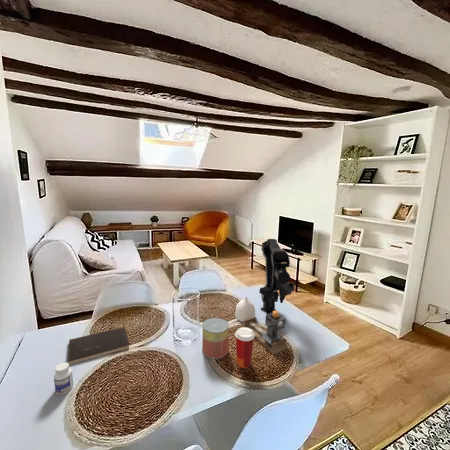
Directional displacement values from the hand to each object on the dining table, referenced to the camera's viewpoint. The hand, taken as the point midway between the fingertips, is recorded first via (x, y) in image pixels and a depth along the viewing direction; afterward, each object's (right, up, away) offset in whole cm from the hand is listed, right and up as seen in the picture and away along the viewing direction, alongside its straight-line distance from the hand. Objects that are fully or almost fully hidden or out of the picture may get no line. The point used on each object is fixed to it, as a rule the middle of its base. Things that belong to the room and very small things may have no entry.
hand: (276, 304), depth 129 cm
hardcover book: (-82, -14, -17) cm, 84 cm away
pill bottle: (-82, -17, -40) cm, 93 cm away
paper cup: (-18, -16, -25) cm, 35 cm away
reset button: (0, -8, +2) cm, 8 cm away
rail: (-8, -13, -8) cm, 18 cm away
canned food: (-30, -15, -17) cm, 38 cm away
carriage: (-5, -13, -13) cm, 19 cm away
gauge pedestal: (0, -12, +2) cm, 12 cm away
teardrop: (-15, -10, +11) cm, 21 cm away
